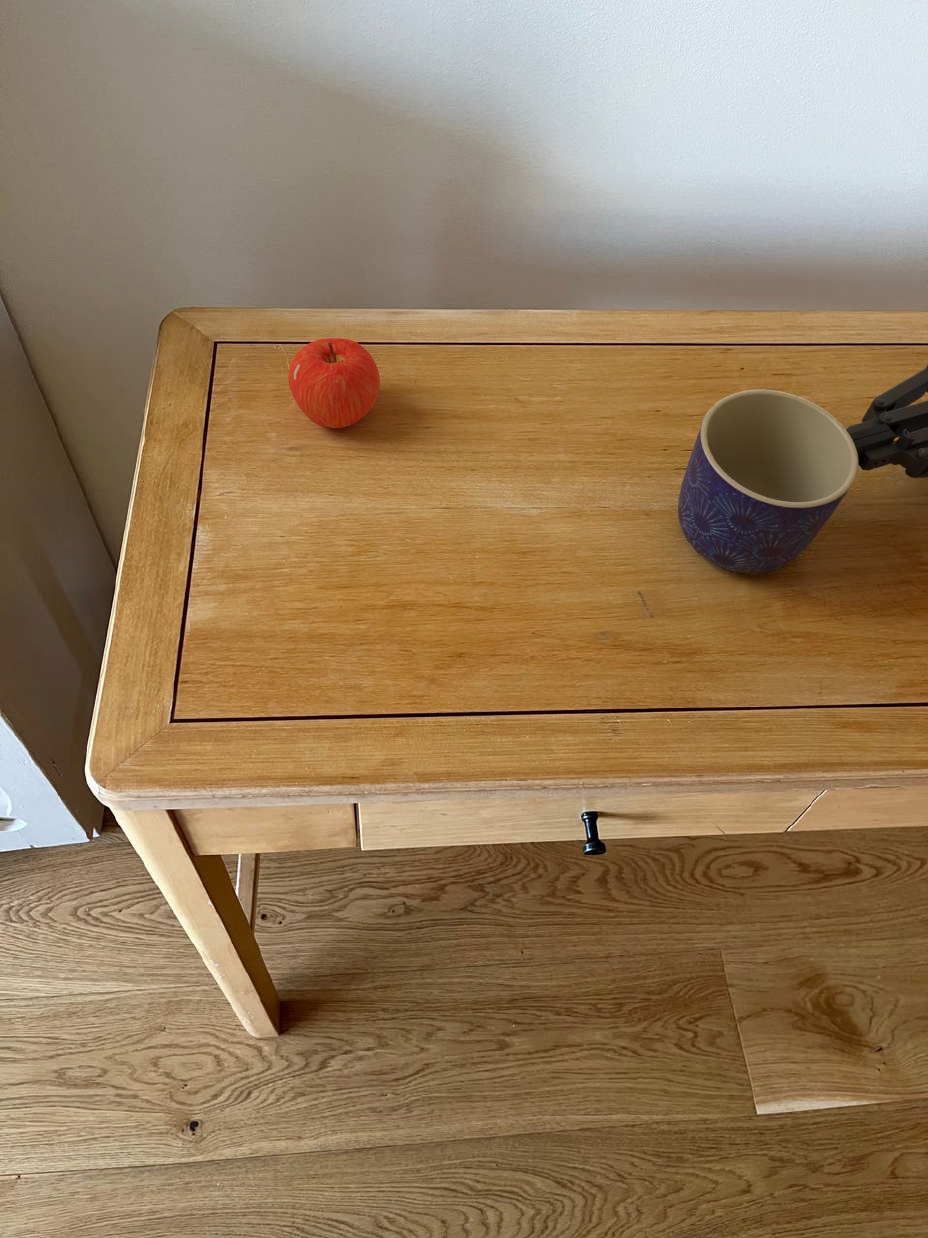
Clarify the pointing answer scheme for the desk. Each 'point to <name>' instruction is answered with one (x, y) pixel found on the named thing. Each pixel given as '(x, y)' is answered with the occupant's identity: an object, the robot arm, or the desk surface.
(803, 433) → the planter
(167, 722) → the desk surface
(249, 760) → the desk surface
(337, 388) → the apple
